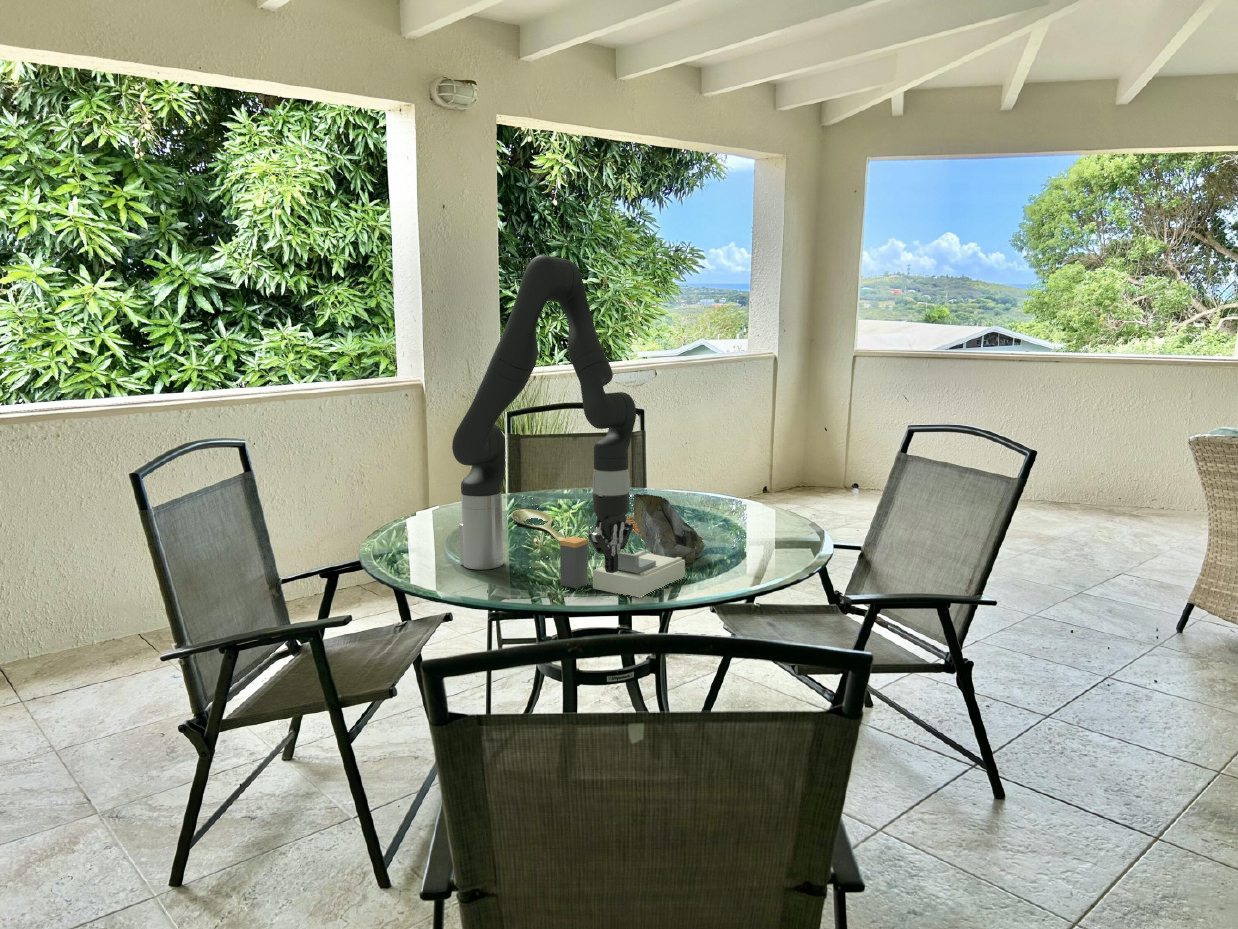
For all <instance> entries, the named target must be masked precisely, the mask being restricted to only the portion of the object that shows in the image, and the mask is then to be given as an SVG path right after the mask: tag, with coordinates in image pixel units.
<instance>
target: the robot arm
mask: <svg viewBox="0 0 1238 929" xmlns="http://www.w3.org/2000/svg"><path fill="white" fill-rule="evenodd" d="M547 302H551V303H552V302H553V303H558V305H559V307H560V309H562V311H563V313H564V316H565V317H566V321H567V326H568V335H567V338H568V339H567V350H568V356H569V359H570V362H571V365H572V367H573V369H574V372H575V374H576V376H577V379H578V381H579V385H580V391H581V392H580V393H581V398H582V400H581V401H582V407H583V408H582V409H583V414H584V417H585V418H586V420H587V421H588V423H589V424H590V425H591V426H592V427H593V428H594V429H597V430H604V429H607V433H606V436H604V437H603V438H601V439H599V440H598V441H596V442H595V444H594V445H593V475H592V512H593V513H594V514H595V515H596V517H597V518H596V521H595V527H596V528H595V530H594V531H593V532H589V533H588V540H589V541H590V542H591V544H592V545H593V547H594V549H595V550H596V552H597V554H600V555H604V565H605V571H606V572H608V573H615V572H617V571H618V554H619V553H620V552H621V550H625V549H626V546H627V544H628V540H629V538H630V536H631V533H632V532H633V531H632V528H633V524H631V523H628V522H627V521H626V517H627V516H626V515H627V514H629V513H630V475H629V448H630V443H631V440H632V435H633V432H634V429H635V428H634V427H635V424H636V419H637V408H636V404H635V400H634V398H632V396H631V395H630V394H629V393H626V392H623V391H620V392H619V391H617V392H609V393H607V392H605V390H604V387H605V386H607V385H608V384H609V383H611V382H612V380H613V379H614V378H613V377H614V374H613V370H612V366H611V365H610V362H609V360H608V358H607V356H606V353H605V351H604V349H603V346H602V344H601V341H600V339H599V336H598V334H597V331H596V328H595V324H594V321H593V320H594V319H593V316H592V312H591V310H590V305H589V301H588V297H587V293H586V288H585V285H584V281H583V278H582V275H581V272H580V270H579V268H578V266H577V265H576V264H575V263H574V262H573V261H571V260H568V259H567V258H562V257H556V256H551V255H546V254H542V255H541V254H540V255H536V256H535V257H534V258H532V259H531V261H530V262H529V263H528V264H527V266H526V267H525V271H524V273H523V276H522V278H521V282H520V284H519V287H518V291H517V295H516V297H515V301H514V304H513V306H512V310H511V313H510V315H509V318H508V319H507V320H508V321H507V323H506V324H505V327H504V330H503V332H502V335H501V336H500V339H499V342H498V344H497V346H496V347H495V350H494V352H493V354H492V356H491V359H490V362H489V364H488V366H487V369H486V371H485V374H484V376H483V378H482V381H481V383H480V384H479V387H478V389H477V390H476V391H477V392H476V394H475V396H474V398H473V400H472V402H471V404H470V406H469V407H468V409H467V412H466V413H465V415H464V417H463V419H462V420H461V422H460V423H459V425H458V427H457V429H456V430H455V433H454V435H453V438H452V444H451V445H452V448H451V449H452V454H453V457H454V458H455V460H456V462H458V463H459V464H460V465H463V466H471V469H470V471H469V473H468V474H467V475H466V476H465V477H464V478H463V480H461V484H460V495H461V497H460V498H461V501H460V502H461V523H460V524H459V526H458V530H459V532H458V533H459V557H460V558H459V559H460V561H459V562H460V565H462V566H464V567H465V568H467V569H471V570H491V569H496V568H499V567H502V566H503V564H504V539H503V534H504V533H503V502H502V501H503V500H502V497H503V496H502V493H503V492H502V485H503V482H504V479H505V473H506V470H505V468H506V443H505V437H504V433H503V432H502V430H501V429H500V427H499V426H498V425H497V424H496V422H498V419H499V418H500V416H501V415H502V414H503V413H504V412H505V410H506V409H507V408H509V407H510V405H512V403H513V402H514V400H516V398H518V396H519V395H520V394H521V392H522V391H524V389H525V387H526V386H527V385H528V382H529V380H530V377H531V375H532V373H533V372H534V369H535V367H536V364H537V361H538V356H539V354H538V351H539V348H538V339H537V338H538V337H537V326H538V322H539V319H540V316H541V315H542V312H543V309H544V307H545V306H546V304H547Z"/></svg>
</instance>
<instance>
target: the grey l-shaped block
mask: <svg viewBox="0 0 1238 929" xmlns="http://www.w3.org/2000/svg"><path fill="white" fill-rule="evenodd" d="M655 566H656V561H653V560H648V559H643V558H639V555H635V554H634V553H629V552H623V551H620V553H619V554H618V570H623V571H628V572H633V573H638V574H639V573H641V572H643V571H646V570H648V569H650V568H653V567H655Z"/></svg>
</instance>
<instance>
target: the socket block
mask: <svg viewBox="0 0 1238 929" xmlns="http://www.w3.org/2000/svg"><path fill="white" fill-rule="evenodd" d="M633 554H635V555H639V558H643V559H648V560H653V561H656V566H655V567H653V568H650V569H648V570H646V571H643V572H641V573H639V574H638V573H633V572H628V571H623V570H618V571H617V572H615V573H608V572H606V571H605V564H603V566H600V567H598V568H595V569H592V589H593V590H600V591H604V592H608V593H613V594H617V593H618V594H617V595H621V594H623V595H622V596H626V595H630V596H629V597H631V596H636V597H641V596H643V595H646V594H648V593H650V592H652V591H654V590H655V589H659V588H661V589H663V588H665V587H666V586H665V585H667V584H669V583H672V582H674V581H676V580H678V581H680V580H682V579H683V578H682V577H685V574H686V571H685V570H686V563H685V560H682V558H681V557H676V558H671V557H665V556H659V555H654V553H647V552H646V550H639V551H637V552H635V553H633ZM681 578H682V579H681ZM685 578H686V577H685ZM679 579H680V580H679ZM676 582H677V581H676ZM674 583H675V582H674ZM672 584H673V583H672ZM664 586H665V587H664ZM667 586H668V585H667ZM662 587H663V588H662ZM659 590H660V589H659ZM654 592H655V591H654ZM652 593H653V592H652ZM650 594H651V593H650ZM648 595H649V594H648ZM646 596H647V595H646ZM641 598H642V597H641Z"/></svg>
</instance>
